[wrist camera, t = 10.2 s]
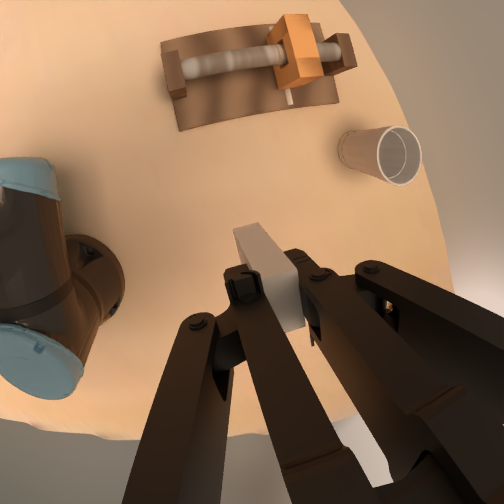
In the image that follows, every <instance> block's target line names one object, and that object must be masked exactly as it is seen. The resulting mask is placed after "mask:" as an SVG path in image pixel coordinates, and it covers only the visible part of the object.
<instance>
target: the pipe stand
mask: <svg viewBox="0 0 504 504" xmlns="http://www.w3.org/2000/svg"><path fill="white" fill-rule="evenodd" d="M310 24H311V27H312V31H313V34H314V38H315V41H316V45H317V49H318V53H319V56H320V60H321V64H322V68H323V73H324V76H323V77H320V78H318V79H316V80H314V81H311V82H309V83H307V84H305V85H303V86H301V87H297V88H288V89H280V90H279V89H278V85H277V80H276V76H275V72H274V68H273V65H282V64H289V62H288V58H287V54H286V50H285V47H284V44H273V45H268V44H267V40H266V36H267V35H268V33H269V32H270V31H271V30H272V28H273V27H274V26H275V24H264V25H253V26H243V27H235V28H228V29H221V30H215V31H209V32H204V33H199V34H194V35H189V36H184V37H180V38H176V39H172V40H168V41H164V42H160V43H161V48H162V54H161V57H162V62H163V67H164V72H165V77H166V81H167V86H168V90H169V93H170V96H171V98H172V100H173V104H174V108H175V113H176V117H177V121H178V126H179V130H180V131H184V130H187V129H191V128H195V127H199V126H203V125H207V124H211V123H215V122H220V121H224V120H229V119H234V118H239V117H244V116H249V115H254V114H260V113H265V112H271V111H278V110H284V109H291V108H298V107H306V106H315V105H324V104H335V103H339V98H338V94H337V89H336V84H335V80H334V75H336V74H339V73H341V72H344V71H347V70H349V69H352V68H355V67H357V62H356V58H355V54H354V50H353V47H352V43H351V39H350V36H349V34H344V33H336V34H334V35H332V36H331V37H329V38H328V39H326V40H324V37H323V33H322V30H321V26H320V23H310Z"/></svg>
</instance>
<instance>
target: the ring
mask: <svg viewBox="0 0 504 504" xmlns="http://www.w3.org/2000/svg"><path fill="white" fill-rule="evenodd" d="M266 40H267V44H268V45H273V44H284V47H285V50H286V54H287V58H288V62H289V64H282V65H273V68H274V72H275V76H276V80H277V85H278V89H279V90H280V89H288V88H297V87H301V86H303V85H305V84H307V83H309V82H311V81H314V80H316V79H318V78H320V77H323V76H324V73H323V68H322V64H321V60H320V56H319V53H318V49H317V45H316V41H315V38H314V34H313V31H312V27H311V24H310V20H309V17H308V14H284V15H283V16H282V17H281V18H280V19H279V21H278V22H277V23H276V24H275V26H274V27H273V28H272V30H271V31H270V32H269V33H268V35H267V36H266Z"/></svg>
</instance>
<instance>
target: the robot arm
mask: <svg viewBox="0 0 504 504" xmlns="http://www.w3.org/2000/svg"><path fill="white" fill-rule="evenodd" d="M60 202H61V198H60V196H59V194H58V188H57V180H56V172H55V169H54V166H53V165H52V163H51V162H49V161H48V160H46V159H44V158H39V157H11V158H0V374H1V375H2V376H3V377H4V378H5V379H6V380H7V381H8V382H9V383H11V384H12V385H13V386H15V387H17V388H18V389H20V390H21V391H23V392H25V393H27V394H29V395H32V396H34V397H37V398H41V399H47V400H59V399H63V398H66V397H68V396H69V395H70V394H71V393H73V391H74V390H75V389H76V386H77V384H78V382H79V380H80V378H81V377H82V376H83V373H84V366H85V363H86V360H87V358H88V355H89V352H90V349H91V347H92V344H93V341H94V339H95V336H96V333H97V331H98V328H99V326H100V325H102V324H103V323H104V322H106V321H107V320H108V319H109V318H111V317H112V316H113V315H114V314H115V312H116V311H117V309H118V308H119V306H120V303H121V301H122V298H123V295H124V290H125V280H124V274H123V271H122V268H121V266H120V263H119V262H118V260H117V258H116V257H115V255H114V254H113V253H112V252H111V251H110V250H109V249H108V248H107V247H106V246H105V245H104V244H102V243H101V242H99V241H98V240H96V239H94V238H91V237H88V236H84V235H70V236H66V237H65V235H64V228H63V222H62V215H61V207H60ZM233 232H234V236H235V240H236V244H237V248H238V252H239V256H240V260H241V264H242V265H238V266H235V267H231V268H228V269H226V270H225V272H224V274H223V275H224V279H225V286H226V290H227V293H228V297H229V300H230V306H229V308H228V309H227V310H226V311H225V312H224V313H222V314H220V315H219V316H217V317H215V316H214V315H213V314H211V313H207V312H201V313H197V314H193V315H191V316H189V317H187V318H186V319H185V320H184V321H183V322H182V324H181V325H180V328H179V330H178V333H177V336H176V338H175V341H174V344H173V347H172V349H171V352H170V355H169V358H168V360H167V363H166V366H165V369H164V372H163V375H162V377H161V380H160V383H159V386H158V389H157V392H156V395H155V398H154V401H153V404H152V407H151V410H150V413H149V416H148V419H147V422H146V425H145V428H144V431H143V434H142V437H141V440H140V444H139V447H138V450H137V453H136V456H135V460H134V463H133V466H132V469H131V473H130V476H129V480H128V483H127V486H126V490H125V493H124V497H123V500H122V504H220V500H221V490H222V479H223V471H224V461H225V451H226V442H227V433H228V424H229V414H230V405H231V396H232V386H233V377H234V368H233V367H235V366H236V365H238V364H240V363H242V362H244V361H245V360H247V363H248V366H249V370H250V373H251V377H252V380H253V383H254V387H255V390H256V393H257V396H258V400H259V403H260V406H261V409H262V413H263V416H264V419H265V422H266V425H267V428H268V431H269V435H270V438H271V441H272V444H273V447H274V450H275V453H276V456H277V459H278V462H279V465H280V468H281V472H282V476H283V479H284V482H285V485H286V488H287V490H288V493H289V496H290V499H291V502H292V504H504V426H503V424H504V318H503V317H501V316H499V315H497V314H495V313H493V312H491V311H489V310H487V309H485V308H483V307H481V306H479V305H477V304H474V303H472V302H470V301H468V300H466V299H464V298H462V297H460V296H457V295H455V294H453V293H451V292H449V291H447V290H444V289H442V288H440V287H438V286H436V285H433V284H431V283H429V282H427V281H425V280H422V279H420V278H418V277H416V276H413V275H411V274H409V273H406V272H404V271H402V270H399V269H397V268H395V267H393V266H390V265H388V264H386V263H383V262H380V261H375V260H367V261H364V262H361V263H359V264H358V265H356V267H355V274H353V275H346V276H339V275H338V274H337V273H335V272H334V271H333V270H331V269H329V268H320V267H319V266H318V265H317V264H316V263H315V262H314V261H313V260H312V259H311V258H310V257H309V256H308V255H307V254H306V253H305V252H304V251H302V250H299V249H296V248H295V249H292V250H288V251H285V252H283V251H282V250H281V249H280V248H279V247H278V245H277V244H276V243H275V242H274V241H273V239H272V238H271V237H270V236H269V235H268V233H267V232H266V231H265V230H264V229H263V228H262V226H261V225H260V224H259V223H254V224H250V225H247V226H243V227H239V228H236V229H233ZM387 301H388V302H390V303H392V304H393V305H392V311H391V310H389V309H387V308H386V305H387ZM304 316H305V318H306V319H307V321H308V324H309V332H310V339H311V345H312V346H314V340H315V342H316V343H317V345H318V347H319V348H320V350H321V351H322V353H323V355H324V356H325V358H326V360H327V361H328V363H329V364H330V366H331V368H332V369H333V371H334V373H335V374H336V376H337V378H338V379H339V381H340V382H341V384H342V386H343V387H344V389H345V391H346V392H347V394H348V396H349V397H350V399H351V400H352V402H353V404H354V405H355V407H356V409H357V410H358V412H359V414H360V415H361V417H362V419H363V420H364V421H365V423H366V425H367V427H368V428H369V430H370V432H371V433H372V435H373V437H374V438H375V440H376V442H377V443H378V445H379V447H380V448H381V450H382V452H383V453H384V455H385V457H386V459H387V461H388V465H389V471H390V474H391V477H392V479H393V481H394V482H393V483H390V484H386V485H382V486H379V487H375V488H372V486H371V484H370V482H369V480H368V478H367V477H366V475H365V473H364V471H363V469H362V467H361V465H360V464H359V462H358V460H357V458H356V457H355V455H354V453H353V452H352V451H351V450H350V448H349V447H346V446H344V445H343V444H342V443H341V441H340V439H339V438H338V436H337V434H336V432H335V430H334V428H333V426H332V424H331V422H330V420H329V418H328V416H327V414H326V412H325V410H324V408H323V406H322V405H321V403H320V401H319V399H318V397H317V395H316V393H315V391H314V389H313V387H312V385H311V383H310V381H309V379H308V377H307V375H306V373H305V371H304V370H303V368H302V366H301V364H300V362H299V360H298V358H297V356H296V354H295V352H294V350H293V348H292V346H291V344H290V342H289V340H288V338H287V336H286V334H285V333H287V332H290V331H293V330H296V329H299V328H302V327H305V326H306V325H305V318H304Z"/></svg>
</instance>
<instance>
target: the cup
mask: <svg viewBox="0 0 504 504" xmlns="http://www.w3.org/2000/svg"><path fill="white" fill-rule="evenodd" d="M338 154H339V158H340V160H341V161H342V163H343V164H344V165H345V166H347V167H348V168H351V169H356V170H359V171H361V172H364V173H367V174H369V175H372V176H375V177H377V178H379V179H381V180H384V181H386V182H388V183H390V184H393V185H396V186H404V185H407V184H409V183H410V182H411V181H413V180H414V178H415V177H416V176H417V174H418V172H419V170H420V166H421V161H422V153H421V147H420V144H419V141H418V139H417V137H416V136H415V134H414V133H413V132H412V131H411V130H410V129H408V128H406V127H404V126H400V125H396V126H389V127H382V128H378V129H371V130H363V131H350V132H348V133H346V134H344V135H343V136H342V138H341V139H340V141H339V144H338Z"/></svg>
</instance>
